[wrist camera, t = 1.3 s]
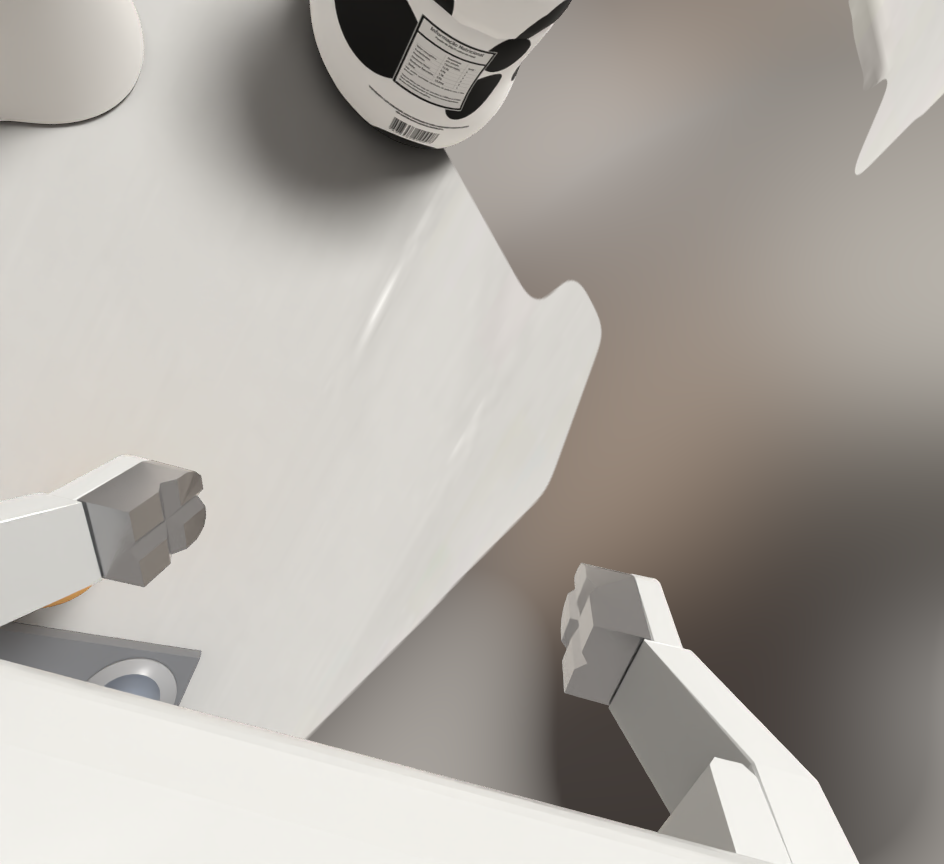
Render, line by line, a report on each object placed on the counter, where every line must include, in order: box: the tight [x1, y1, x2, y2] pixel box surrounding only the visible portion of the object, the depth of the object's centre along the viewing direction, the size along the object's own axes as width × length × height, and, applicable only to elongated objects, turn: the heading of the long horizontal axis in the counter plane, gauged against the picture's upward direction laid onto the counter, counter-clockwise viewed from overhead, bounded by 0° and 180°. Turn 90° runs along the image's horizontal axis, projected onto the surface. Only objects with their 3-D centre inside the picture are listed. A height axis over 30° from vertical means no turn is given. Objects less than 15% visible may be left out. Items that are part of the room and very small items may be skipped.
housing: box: [0, 622, 201, 706], centre depth 26 cm, size 14×13×11 cm
